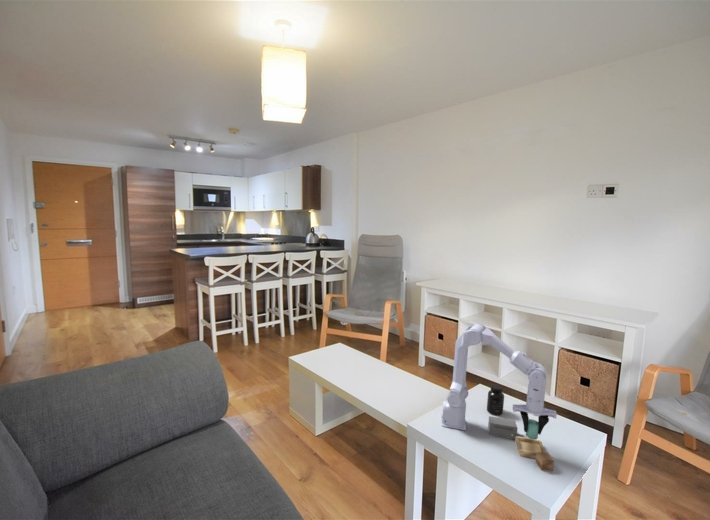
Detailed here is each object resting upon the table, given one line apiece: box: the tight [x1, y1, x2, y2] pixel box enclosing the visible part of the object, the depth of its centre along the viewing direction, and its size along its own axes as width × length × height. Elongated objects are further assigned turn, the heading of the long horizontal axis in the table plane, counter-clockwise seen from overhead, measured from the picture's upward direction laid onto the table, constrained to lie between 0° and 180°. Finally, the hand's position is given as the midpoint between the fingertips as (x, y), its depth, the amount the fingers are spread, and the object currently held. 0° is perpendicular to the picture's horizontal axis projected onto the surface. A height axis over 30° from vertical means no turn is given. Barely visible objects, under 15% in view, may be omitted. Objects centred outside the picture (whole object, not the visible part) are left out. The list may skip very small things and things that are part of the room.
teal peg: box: [525, 418, 539, 440], centre depth 132 cm, size 4×4×6 cm
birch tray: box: [514, 435, 547, 460], centre depth 133 cm, size 9×9×2 cm
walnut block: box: [535, 451, 555, 471], centre depth 125 cm, size 4×4×4 cm
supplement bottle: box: [486, 383, 505, 417], centre depth 158 cm, size 7×7×12 cm
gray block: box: [487, 415, 518, 440], centre depth 143 cm, size 10×5×5 cm, turn 75°
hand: (532, 431), depth 132 cm, fingers closed on teal peg, 4 cm apart
